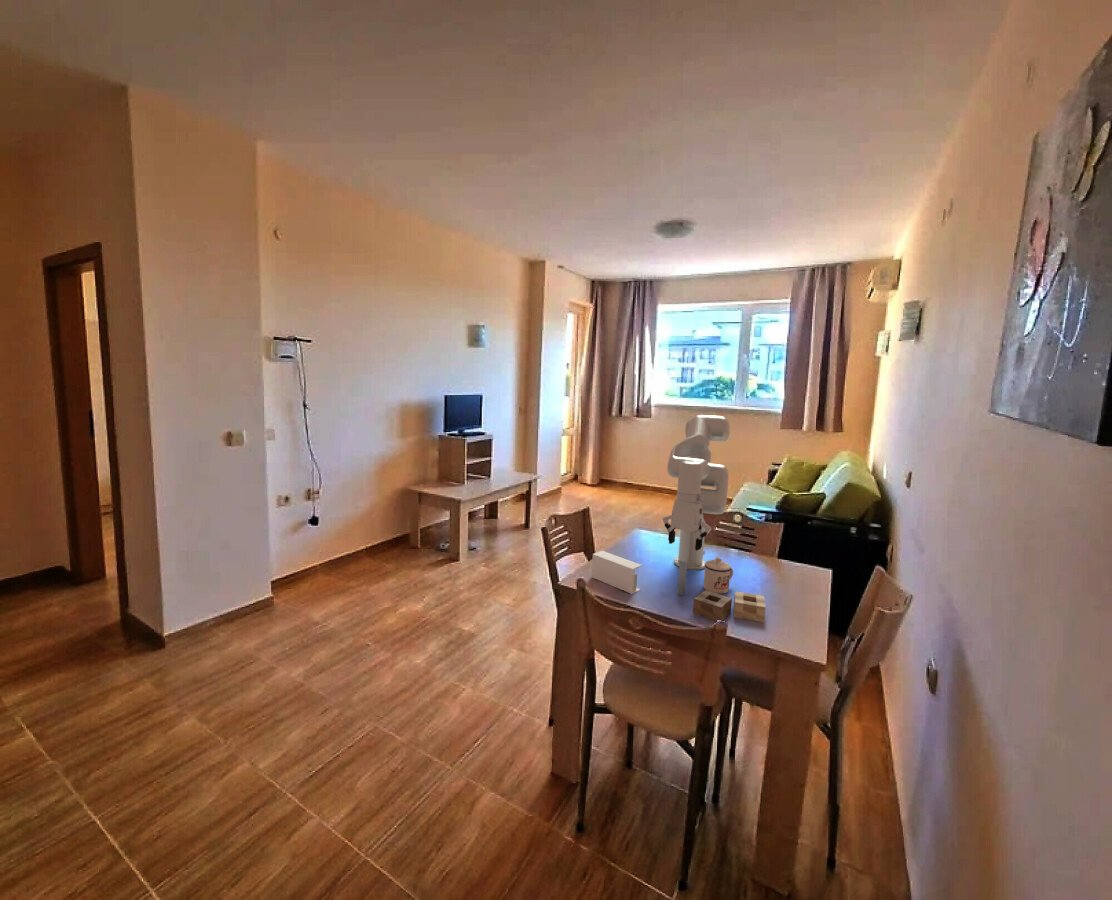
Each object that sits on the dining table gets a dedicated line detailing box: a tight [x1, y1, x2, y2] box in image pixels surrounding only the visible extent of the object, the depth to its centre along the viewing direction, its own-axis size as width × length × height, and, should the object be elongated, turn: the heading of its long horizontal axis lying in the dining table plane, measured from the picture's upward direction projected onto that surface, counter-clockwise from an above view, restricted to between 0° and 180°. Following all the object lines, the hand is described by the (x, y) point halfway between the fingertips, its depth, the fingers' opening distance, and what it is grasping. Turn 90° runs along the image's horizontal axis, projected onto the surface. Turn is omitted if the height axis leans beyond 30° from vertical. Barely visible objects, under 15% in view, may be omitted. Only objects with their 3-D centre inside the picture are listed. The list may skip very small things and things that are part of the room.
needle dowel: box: [676, 560, 688, 596], centre depth 179 cm, size 3×3×12 cm
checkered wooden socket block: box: [733, 590, 766, 623], centre depth 166 cm, size 9×9×5 cm
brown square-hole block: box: [692, 589, 733, 622], centre depth 165 cm, size 9×9×5 cm
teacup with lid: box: [703, 556, 734, 595], centre depth 184 cm, size 12×9×12 cm
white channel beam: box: [591, 550, 643, 595], centre depth 186 cm, size 20×6×9 cm, turn 43°
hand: (684, 546), depth 176 cm, fingers open, 9 cm apart
